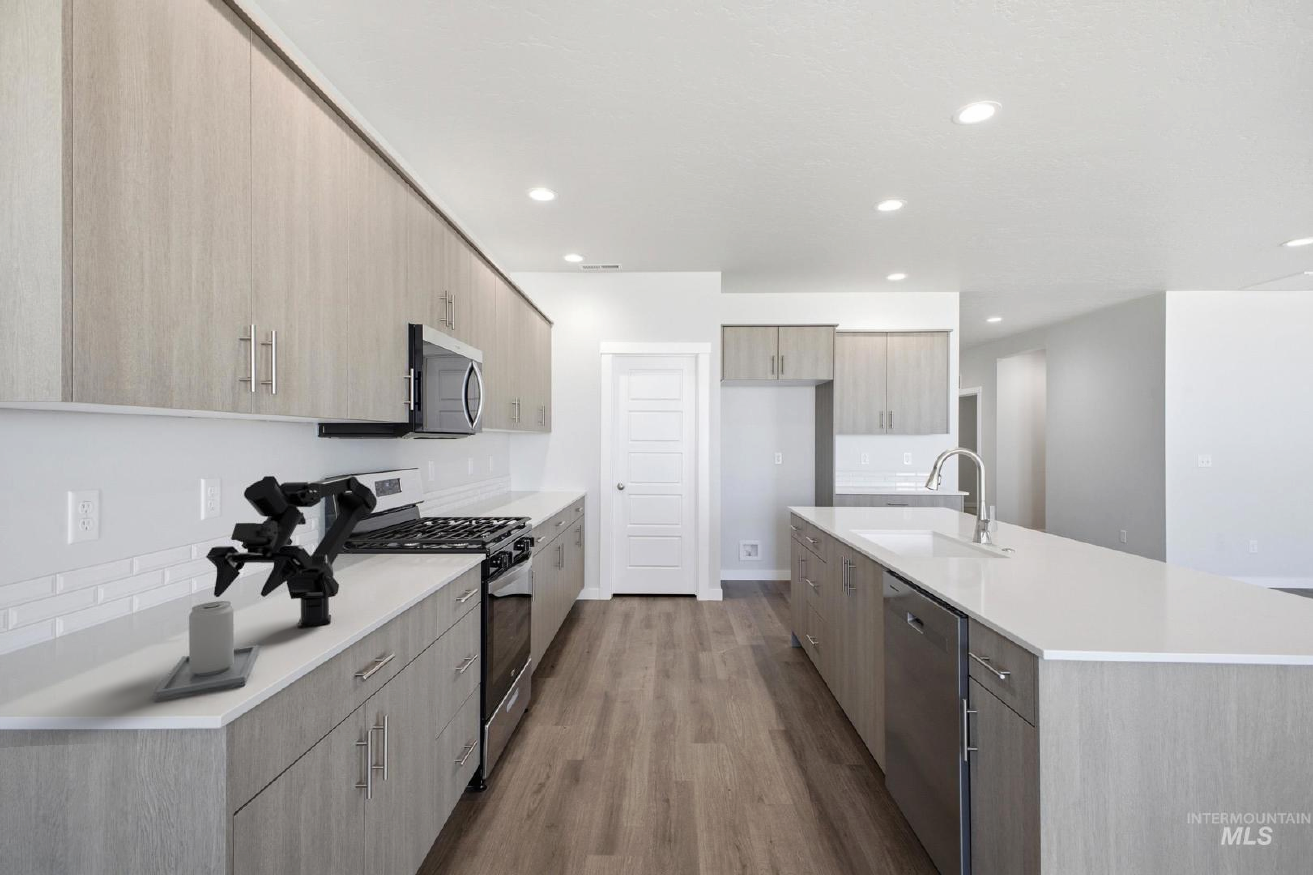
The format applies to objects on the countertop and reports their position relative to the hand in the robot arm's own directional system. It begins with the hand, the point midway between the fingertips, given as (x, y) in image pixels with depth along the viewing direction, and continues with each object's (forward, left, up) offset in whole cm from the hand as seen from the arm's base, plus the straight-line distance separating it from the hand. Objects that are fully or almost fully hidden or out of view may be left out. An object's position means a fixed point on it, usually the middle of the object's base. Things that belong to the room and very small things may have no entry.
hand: (239, 595), depth 110 cm
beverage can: (+6, -3, -12) cm, 14 cm away
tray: (+6, -3, -13) cm, 14 cm away
